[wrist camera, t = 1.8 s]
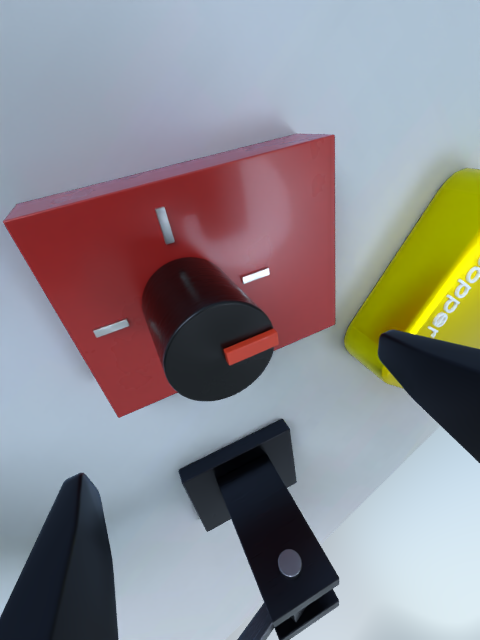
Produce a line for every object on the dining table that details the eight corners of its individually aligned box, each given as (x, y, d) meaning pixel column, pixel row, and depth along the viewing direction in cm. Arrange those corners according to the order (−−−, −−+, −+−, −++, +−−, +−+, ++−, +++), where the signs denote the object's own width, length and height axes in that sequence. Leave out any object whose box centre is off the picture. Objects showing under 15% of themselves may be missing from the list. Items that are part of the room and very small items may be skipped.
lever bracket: (202, 519, 29) (252, 672, 21) (178, 469, 24) (228, 641, 16) (290, 471, 31) (366, 593, 23) (282, 418, 27) (373, 546, 18)
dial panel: (113, 381, 18) (118, 421, 16) (15, 204, 13) (0, 222, 10) (307, 303, 22) (337, 326, 19) (297, 133, 16) (337, 134, 14)
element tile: (458, 154, 21) (543, 160, 17) (528, 245, 29) (596, 263, 25) (332, 346, 25) (378, 386, 21) (425, 378, 33) (470, 411, 29)
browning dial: (158, 350, 15) (185, 425, 11) (127, 274, 13) (147, 335, 9) (235, 320, 16) (284, 379, 12) (219, 244, 14) (273, 287, 10)
